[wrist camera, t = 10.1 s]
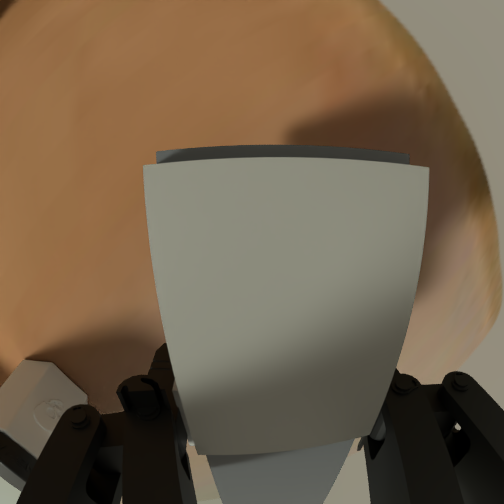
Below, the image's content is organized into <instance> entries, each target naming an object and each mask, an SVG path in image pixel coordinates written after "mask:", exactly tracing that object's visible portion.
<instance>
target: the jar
mask: <svg viewBox="0 0 504 504" xmlns="http://www.w3.org/2000/svg"><path fill="white" fill-rule="evenodd" d="M87 402H88V396H87V394H85V393H84V392H83V391H82V390H81V389H80V388H79V387H78V386H76V385H75V384H74V383H73V382H72V381H71V380H70V379H69V378H68V377H67V376H66V375H65V374H64V373H63V372H62V371H61V370H60V369H59V368H58V367H57V366H56V365H55V364H54V363H52V362H42V361H32V360H22V362H21V363H20V364H19V365H18V366H17V368H16V369H15V370H14V371H13V372H12V374H11V375H10V376H9V377H8V379H7V380H6V381H5V382H4V384H3V385H2V386H1V387H0V476H1V477H2V478H3V479H4V480H6V481H7V482H8V483H10V484H11V485H13V486H14V487H16V488H17V489H18V490H20V491H22V490H23V488H24V486H25V484H26V482H27V479H28V477H29V475H30V473H31V471H32V469H33V467H34V465H35V463H36V461H37V459H38V458H39V456H40V454H41V452H42V450H43V448H44V446H45V444H46V443H47V441H48V439H49V437H50V435H51V433H52V432H53V430H54V428H55V426H56V425H57V423H58V421H59V419H60V418H61V416H62V414H63V413H64V412H65V411H66V410H67V409H68V408H70V407H72V406H74V405H79V404H87Z"/></svg>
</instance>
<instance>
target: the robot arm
mask: <svg viewBox="0 0 504 504" xmlns="http://www.w3.org/2000/svg"><path fill="white" fill-rule="evenodd" d="M116 393H117V395H118V397H119V399H120V402H121V404H122V406H123V408H124V410H125V411H123V412H119V413H112V414H102V415H100V414H99V412H98V411H97V410H96V409H95V408H94V407H92V406H90V405H87V404H79V405H74V406H72V407H70V408H68V409H67V410H66V411H65V412H64V413H63V414H62V416H61V418H60V419H59V421H58V423H57V425H56V426H55V428H54V430H53V432H52V433H51V435H50V437H49V439H48V441H47V443H46V444H45V446H44V448H43V450H42V452H41V454H40V456H39V458H38V459H37V461H36V463H35V465H34V467H33V469H32V471H31V473H30V475H29V477H28V479H27V482H26V484H25V486H24V488H23V490H22V492H21V494H20V497H19V499H18V501H17V503H16V504H120V501H121V497H122V503H123V504H197V500H196V495H195V490H194V485H193V480H192V474H191V469H190V463H189V457H188V454H187V452H186V444H187V439H188V442H189V445H190V446H195V444H194V442H193V438H192V435H191V432H190V429H189V426H188V423H187V420H186V416H185V413H184V409H183V406H182V403H181V399H180V395H179V392H178V388H177V384H176V380H175V376H174V373H173V368H172V364H171V360H170V356H169V352H168V347H167V343H164V344H163V345H162V346H161V347H160V348H159V349H158V350H157V351H156V353H155V356H154V359H153V362H152V364H151V367H150V370H149V372H148V375H137V376H132V377H130V378H128V379H126V380H124V381H123V382H122V383H121V384H120V385H119V387H118V389H117V391H116ZM457 423H458V424H459V425H460V426H461V429H460V430H457V429H455V425H456V424H457ZM363 445H364V452H365V458H366V466H367V474H368V482H369V491H370V501H371V504H504V411H503V409H502V408H501V407H500V406H499V405H498V404H497V403H496V402H495V401H494V400H493V399H492V397H491V396H490V395H489V394H488V393H487V392H486V391H485V390H484V389H483V388H482V387H481V386H480V385H479V384H478V383H477V382H476V381H475V380H474V379H473V378H472V377H471V376H470V375H468V374H466V373H463V372H458V371H454V372H450V373H448V374H447V375H445V377H444V379H443V381H442V384H431V385H421V384H420V382H419V381H418V380H417V379H416V378H414V377H413V376H410V375H407V374H400V373H399V371H398V370H397V368H396V369H395V372H394V375H393V378H392V381H391V383H390V386H389V389H388V392H387V394H386V397H385V400H384V402H383V405H382V407H381V410H380V412H379V414H378V417H377V419H376V421H375V424H374V426H373V428H372V431H371V433H370V435H367V436H363V437H361V440H360V442H359V444H358V448H357V451H359V450H361V448H362V446H363Z"/></svg>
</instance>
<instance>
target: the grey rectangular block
mask: <svg viewBox="0 0 504 504" xmlns="http://www.w3.org/2000/svg"><path fill="white" fill-rule="evenodd" d="M156 159H157V164H151V165H143V175H144V191H145V203H146V214H147V224H148V234H149V242H150V250H151V258H152V265H153V272H154V278H155V285H156V291H157V297H158V302H159V308H160V313H161V318H162V323H163V328H164V333H165V338H166V343H167V347H168V352H169V356H170V360H171V364H172V368H173V373H174V376H175V380H176V384H177V388H178V392H179V395H180V399H181V403H182V406H183V409H184V413H185V416H186V420H187V423H188V426H189V429H190V432H191V435H192V438H193V442H194V444H195V447H196V450H197V453H198V455H206V456H207V459H208V463H209V466H210V469H211V472H212V475H213V478H214V481H215V484H216V486H217V489H218V492H219V495H220V498H221V500H222V503H223V504H323V502H324V500H325V499H326V497H327V495H328V493H329V491H330V490H331V487H332V486H333V484H334V482H335V480H336V478H337V476H338V474H339V472H340V470H341V468H342V466H343V464H344V461H345V459H346V457H347V455H348V453H349V451H350V448H351V446H352V444H353V441H354V439H355V438H359V437H363V436H367V435H370V433H371V431H372V428H373V426H374V424H375V421H376V419H377V417H378V414H379V412H380V410H381V407H382V405H383V402H384V400H385V397H386V394H387V392H388V389H389V386H390V383H391V381H392V378H393V375H394V372H395V369H396V366H397V363H398V360H399V356H400V353H401V350H402V346H403V343H404V339H405V336H406V332H407V328H408V324H409V320H410V316H411V312H412V308H413V303H414V299H415V294H416V289H417V284H418V279H419V273H420V267H421V261H422V254H423V247H424V239H425V230H426V220H427V208H428V191H429V167H422V166H414V165H409V154H404V153H396V152H388V151H379V150H370V149H359V148H346V147H331V146H310V145H237V146H215V147H200V148H187V149H176V150H166V151H157V152H156Z"/></svg>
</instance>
